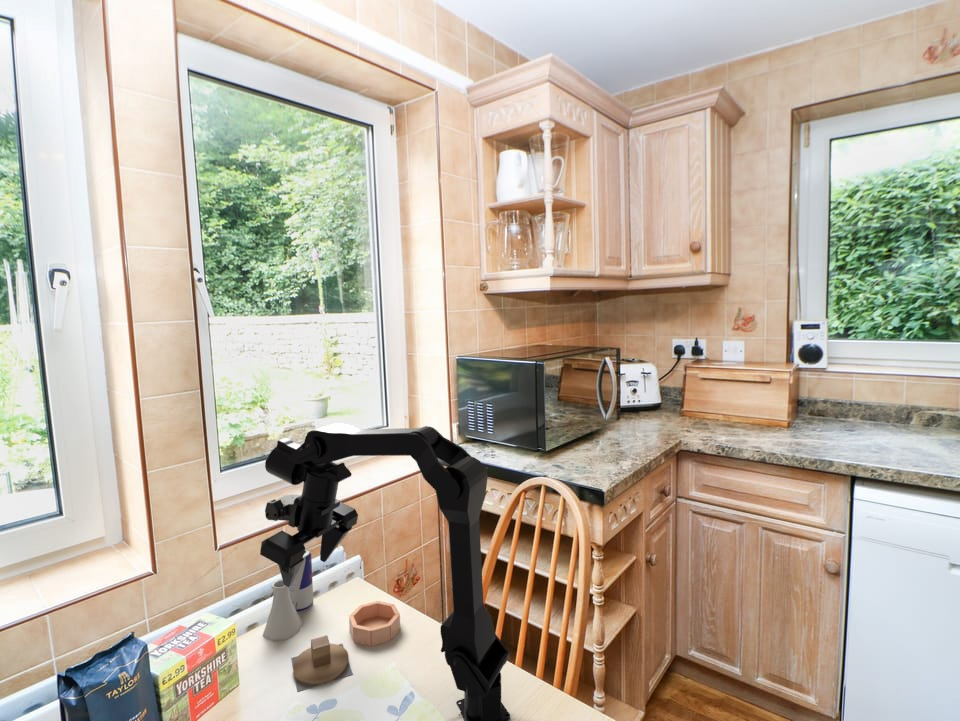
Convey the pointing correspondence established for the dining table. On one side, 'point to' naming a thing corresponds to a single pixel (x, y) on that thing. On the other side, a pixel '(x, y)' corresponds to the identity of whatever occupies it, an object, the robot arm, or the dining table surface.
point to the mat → (303, 687)
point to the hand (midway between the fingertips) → (305, 572)
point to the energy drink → (303, 585)
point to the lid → (320, 662)
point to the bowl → (374, 623)
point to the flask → (282, 615)
